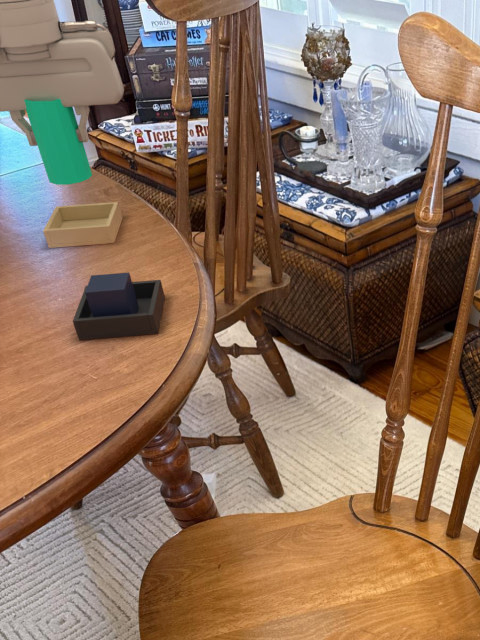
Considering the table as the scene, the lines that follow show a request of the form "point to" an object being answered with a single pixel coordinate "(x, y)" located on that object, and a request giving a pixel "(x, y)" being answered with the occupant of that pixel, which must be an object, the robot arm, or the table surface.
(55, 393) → the table surface
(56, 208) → the cream tray
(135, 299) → the navy block
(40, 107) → the candle
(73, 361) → the table surface
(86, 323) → the slate tray
